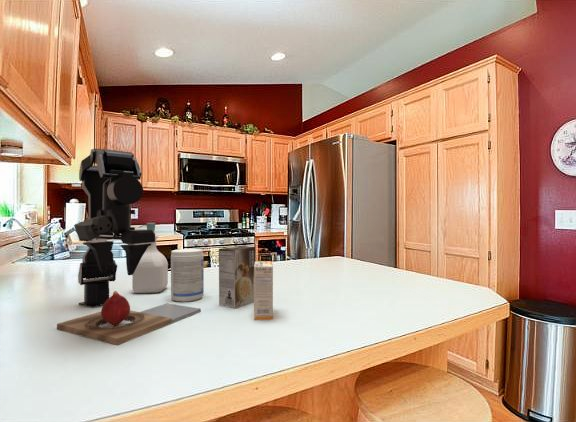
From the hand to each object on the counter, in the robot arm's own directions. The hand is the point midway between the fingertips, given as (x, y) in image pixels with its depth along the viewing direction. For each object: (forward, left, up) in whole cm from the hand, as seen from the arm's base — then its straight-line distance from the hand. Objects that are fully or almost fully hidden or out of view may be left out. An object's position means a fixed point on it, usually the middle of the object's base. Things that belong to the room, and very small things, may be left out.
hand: (116, 273), depth 73 cm
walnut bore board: (0, 0, -12) cm, 12 cm away
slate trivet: (+4, +11, -12) cm, 17 cm away
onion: (0, 0, -12) cm, 12 cm away
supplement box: (+26, +22, -12) cm, 36 cm away
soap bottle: (-21, +28, -12) cm, 37 cm away
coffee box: (+14, +28, -12) cm, 34 cm away
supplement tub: (-3, +26, -12) cm, 29 cm away
